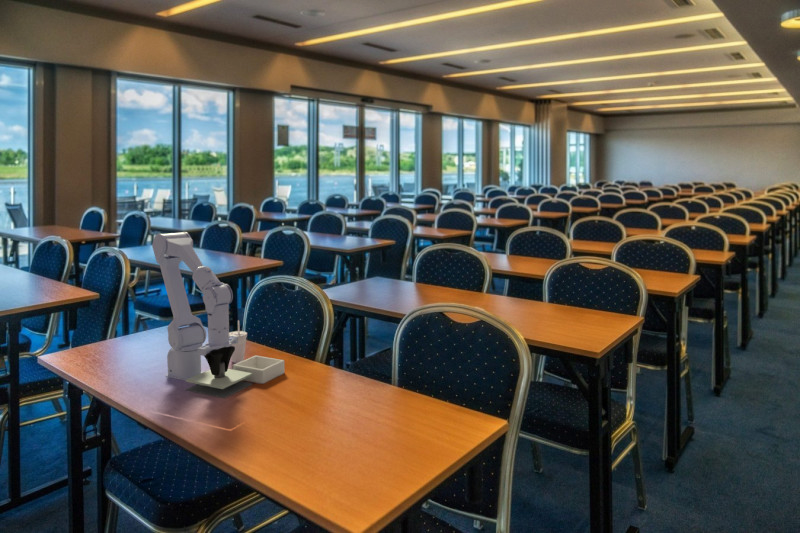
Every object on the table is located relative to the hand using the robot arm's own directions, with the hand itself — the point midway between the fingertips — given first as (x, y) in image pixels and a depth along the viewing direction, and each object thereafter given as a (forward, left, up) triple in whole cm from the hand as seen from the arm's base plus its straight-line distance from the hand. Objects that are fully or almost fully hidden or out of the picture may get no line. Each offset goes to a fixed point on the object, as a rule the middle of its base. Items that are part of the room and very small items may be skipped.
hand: (219, 373), depth 173 cm
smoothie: (-11, +21, -5) cm, 25 cm away
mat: (0, 0, -5) cm, 5 cm away
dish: (+4, +13, -5) cm, 14 cm away
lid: (0, 0, -2) cm, 2 cm away
